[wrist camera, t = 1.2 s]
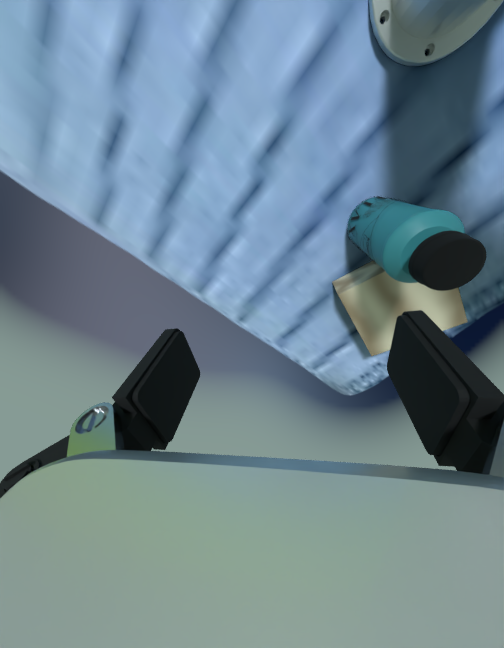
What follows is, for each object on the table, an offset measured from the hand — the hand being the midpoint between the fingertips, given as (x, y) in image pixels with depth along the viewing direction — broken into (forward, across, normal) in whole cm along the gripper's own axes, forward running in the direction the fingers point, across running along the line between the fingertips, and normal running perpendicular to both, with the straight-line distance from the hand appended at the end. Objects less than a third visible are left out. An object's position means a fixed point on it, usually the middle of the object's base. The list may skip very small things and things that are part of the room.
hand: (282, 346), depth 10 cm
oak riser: (+29, -16, +14) cm, 36 cm away
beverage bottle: (+29, -11, +2) cm, 31 cm away
